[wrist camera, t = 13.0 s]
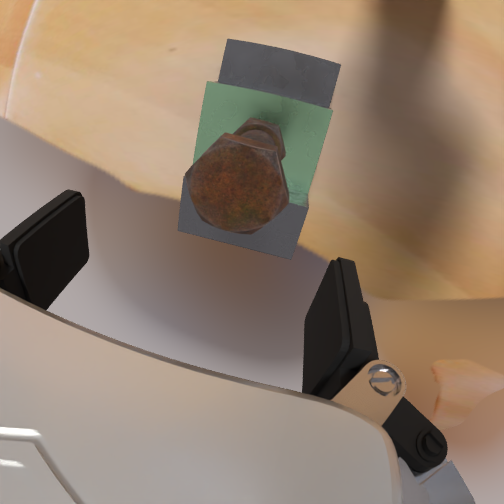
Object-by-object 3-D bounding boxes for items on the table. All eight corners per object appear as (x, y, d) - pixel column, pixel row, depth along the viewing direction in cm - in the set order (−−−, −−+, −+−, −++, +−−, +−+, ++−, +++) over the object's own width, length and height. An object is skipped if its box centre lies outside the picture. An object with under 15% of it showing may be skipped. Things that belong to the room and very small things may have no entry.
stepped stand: (231, 41, 29) (206, 29, 20) (336, 65, 29) (352, 61, 20) (202, 192, 40) (174, 230, 31) (293, 215, 40) (291, 259, 31)
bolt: (294, 158, 29) (294, 230, 17) (245, 169, 30) (208, 245, 18) (280, 102, 26) (268, 125, 14) (229, 114, 27) (173, 150, 15)
